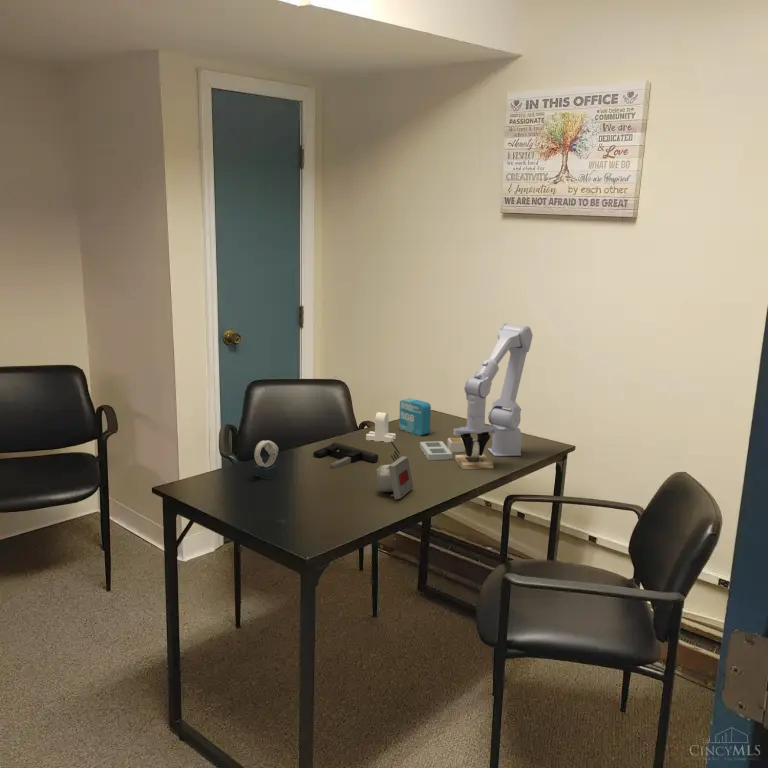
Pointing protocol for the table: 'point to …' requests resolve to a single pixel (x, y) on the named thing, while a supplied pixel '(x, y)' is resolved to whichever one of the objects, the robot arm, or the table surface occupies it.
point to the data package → (415, 416)
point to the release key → (456, 440)
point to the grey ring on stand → (267, 468)
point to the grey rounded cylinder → (475, 451)
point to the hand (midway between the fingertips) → (474, 455)
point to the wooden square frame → (464, 463)
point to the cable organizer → (381, 429)
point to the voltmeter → (395, 476)
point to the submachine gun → (345, 454)
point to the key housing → (455, 446)
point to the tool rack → (436, 450)
